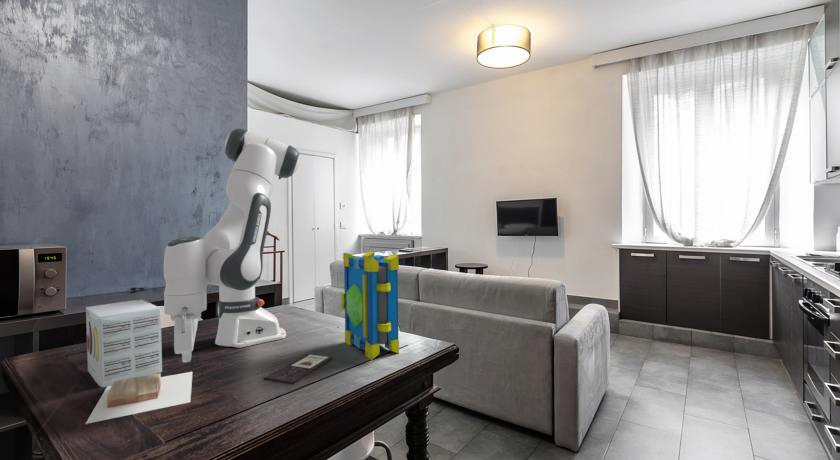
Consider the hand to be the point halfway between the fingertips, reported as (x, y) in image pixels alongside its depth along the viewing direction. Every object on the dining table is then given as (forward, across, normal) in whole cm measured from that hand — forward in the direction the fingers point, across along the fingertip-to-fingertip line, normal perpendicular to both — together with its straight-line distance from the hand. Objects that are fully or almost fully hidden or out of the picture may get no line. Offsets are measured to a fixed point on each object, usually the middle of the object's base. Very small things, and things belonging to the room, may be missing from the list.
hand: (186, 360), depth 94 cm
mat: (+7, -1, +8) cm, 11 cm away
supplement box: (+7, +19, +16) cm, 26 cm away
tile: (+5, -1, +6) cm, 7 cm away
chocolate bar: (+7, -1, -27) cm, 28 cm away
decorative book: (+7, +6, -50) cm, 51 cm away
